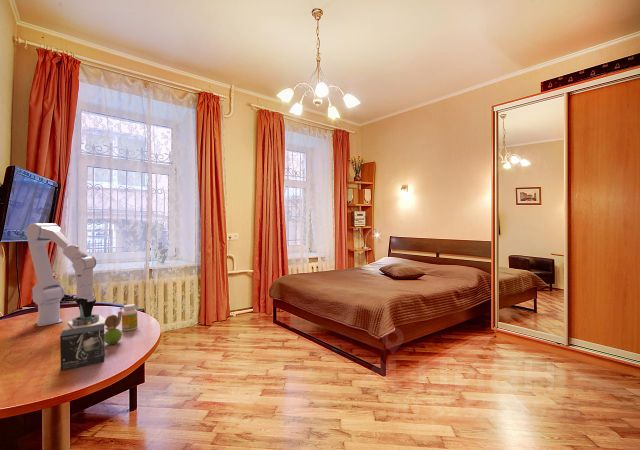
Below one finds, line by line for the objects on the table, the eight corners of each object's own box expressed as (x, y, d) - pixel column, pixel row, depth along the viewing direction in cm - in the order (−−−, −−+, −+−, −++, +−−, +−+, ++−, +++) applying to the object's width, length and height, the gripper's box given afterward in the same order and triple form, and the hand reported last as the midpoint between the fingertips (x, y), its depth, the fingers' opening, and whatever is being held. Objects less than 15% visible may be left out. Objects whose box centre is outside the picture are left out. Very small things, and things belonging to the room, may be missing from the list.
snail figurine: (127, 340, 113) (127, 308, 113) (111, 347, 107) (110, 313, 107) (117, 339, 115) (116, 307, 115) (99, 345, 109) (99, 311, 109)
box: (59, 371, 90) (59, 336, 90) (63, 363, 95) (62, 329, 95) (104, 362, 96) (103, 328, 96) (105, 355, 101) (104, 323, 101)
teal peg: (76, 323, 133) (76, 304, 133) (92, 319, 137) (91, 301, 137) (79, 324, 130) (79, 305, 130) (95, 321, 135) (94, 303, 135)
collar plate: (67, 323, 135) (67, 317, 135) (100, 316, 144) (100, 310, 144) (75, 330, 125) (75, 324, 125) (110, 323, 134) (110, 316, 134)
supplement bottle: (130, 331, 123) (129, 307, 123) (118, 330, 124) (118, 306, 124) (140, 327, 129) (140, 303, 128) (129, 326, 130) (129, 303, 130)
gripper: (68, 284, 135) (69, 315, 135) (78, 288, 126) (79, 321, 126) (88, 281, 141) (89, 311, 141) (99, 285, 132) (99, 316, 132)
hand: (85, 315), depth 134 cm, fingers closed on teal peg, 4 cm apart
